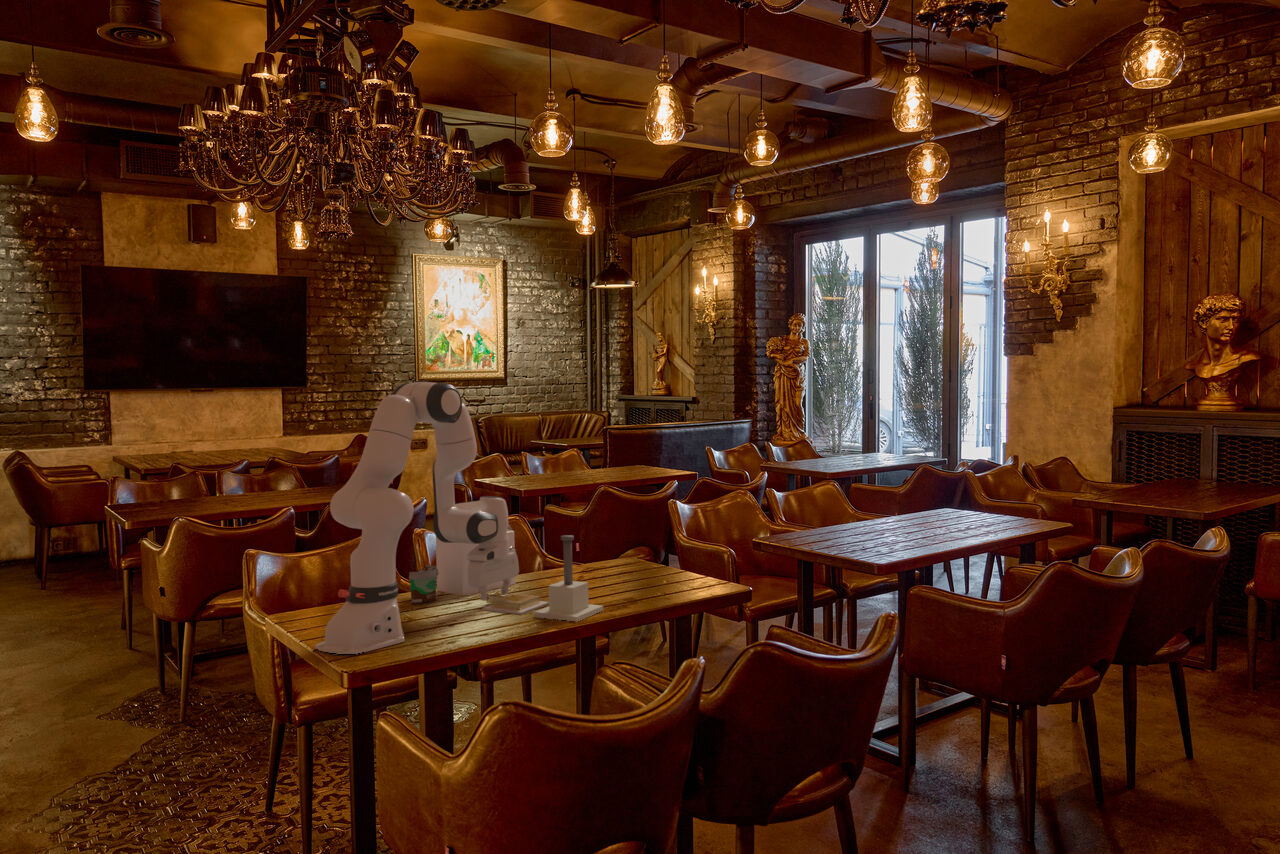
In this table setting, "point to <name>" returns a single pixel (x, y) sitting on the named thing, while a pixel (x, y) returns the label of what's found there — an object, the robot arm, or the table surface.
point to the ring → (513, 601)
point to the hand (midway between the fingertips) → (495, 596)
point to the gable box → (460, 563)
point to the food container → (423, 585)
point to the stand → (568, 593)
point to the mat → (523, 611)
